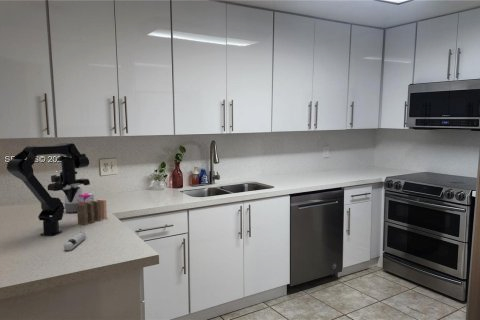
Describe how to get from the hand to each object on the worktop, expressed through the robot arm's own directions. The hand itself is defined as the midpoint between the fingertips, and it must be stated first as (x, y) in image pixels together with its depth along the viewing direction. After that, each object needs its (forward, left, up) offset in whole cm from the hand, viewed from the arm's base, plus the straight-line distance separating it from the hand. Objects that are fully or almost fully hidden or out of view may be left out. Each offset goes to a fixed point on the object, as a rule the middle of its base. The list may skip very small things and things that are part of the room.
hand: (70, 202), depth 172 cm
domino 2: (+9, -4, -12) cm, 15 cm away
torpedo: (-23, -16, -12) cm, 31 cm away
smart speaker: (+29, +16, -12) cm, 35 cm away
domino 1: (+5, -3, -12) cm, 13 cm away
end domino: (+16, -7, -12) cm, 21 cm away
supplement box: (+23, +5, -12) cm, 26 cm away
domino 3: (+12, -5, -12) cm, 18 cm away
